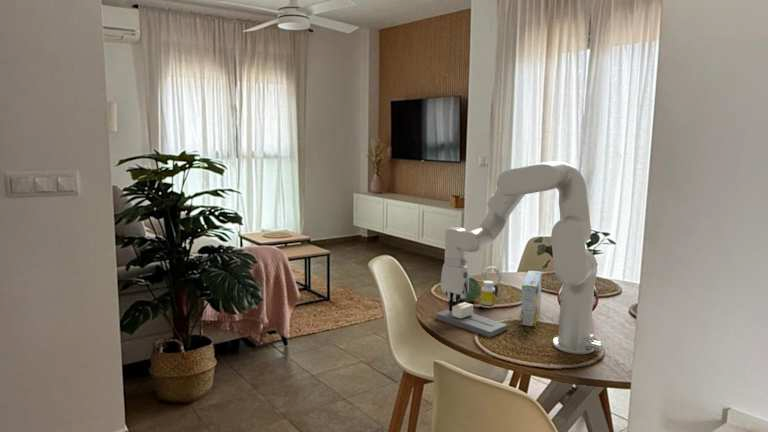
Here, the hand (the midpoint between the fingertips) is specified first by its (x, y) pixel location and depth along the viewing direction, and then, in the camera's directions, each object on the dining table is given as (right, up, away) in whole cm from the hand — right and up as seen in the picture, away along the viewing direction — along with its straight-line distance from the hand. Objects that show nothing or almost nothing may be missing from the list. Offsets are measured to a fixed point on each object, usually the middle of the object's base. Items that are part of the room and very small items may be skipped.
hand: (453, 310), depth 189 cm
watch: (+21, +2, +33) cm, 39 cm away
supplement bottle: (+15, -1, +15) cm, 21 cm away
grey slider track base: (+5, -4, -5) cm, 8 cm away
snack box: (+29, -3, +3) cm, 29 cm away
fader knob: (+3, -1, -3) cm, 4 cm away
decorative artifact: (+8, 0, +19) cm, 21 cm away
